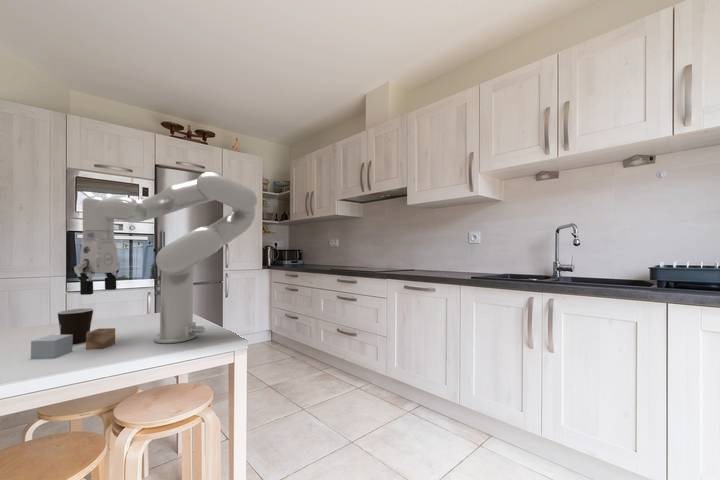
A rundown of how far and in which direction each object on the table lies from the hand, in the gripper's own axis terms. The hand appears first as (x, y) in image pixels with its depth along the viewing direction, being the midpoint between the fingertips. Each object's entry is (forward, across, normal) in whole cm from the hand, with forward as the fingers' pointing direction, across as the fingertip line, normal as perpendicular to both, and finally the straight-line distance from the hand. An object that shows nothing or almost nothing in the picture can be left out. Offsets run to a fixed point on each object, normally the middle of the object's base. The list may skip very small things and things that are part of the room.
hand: (99, 291), depth 97 cm
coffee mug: (+17, +6, +11) cm, 21 cm away
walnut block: (+17, -1, -1) cm, 17 cm away
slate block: (+17, -8, +7) cm, 20 cm away
